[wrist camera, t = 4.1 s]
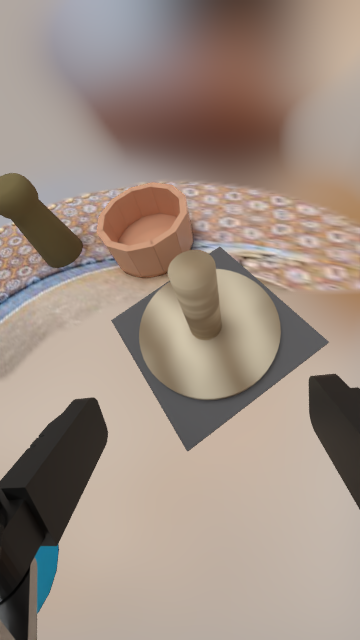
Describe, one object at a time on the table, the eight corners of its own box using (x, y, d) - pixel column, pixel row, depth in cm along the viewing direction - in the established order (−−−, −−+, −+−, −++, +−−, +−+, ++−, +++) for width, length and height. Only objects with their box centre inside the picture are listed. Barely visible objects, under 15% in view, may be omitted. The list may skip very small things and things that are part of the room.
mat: (188, 451, 20) (187, 451, 20) (112, 321, 28) (111, 320, 27) (327, 343, 22) (329, 342, 21) (220, 248, 29) (219, 246, 29)
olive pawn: (75, 266, 33) (10, 197, 23) (40, 268, 34) (-35, 203, 25) (87, 235, 36) (33, 160, 26) (54, 238, 37) (-10, 168, 27)
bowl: (138, 292, 29) (121, 266, 24) (103, 244, 34) (84, 216, 29) (209, 244, 30) (205, 211, 25) (165, 204, 35) (155, 171, 30)
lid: (190, 433, 20) (156, 432, 11) (122, 321, 27) (66, 264, 18) (311, 340, 22) (367, 274, 13) (218, 255, 28) (211, 172, 19)
